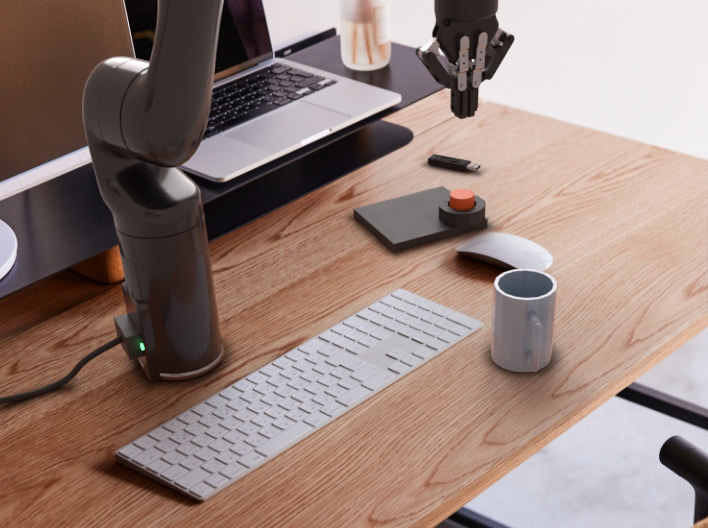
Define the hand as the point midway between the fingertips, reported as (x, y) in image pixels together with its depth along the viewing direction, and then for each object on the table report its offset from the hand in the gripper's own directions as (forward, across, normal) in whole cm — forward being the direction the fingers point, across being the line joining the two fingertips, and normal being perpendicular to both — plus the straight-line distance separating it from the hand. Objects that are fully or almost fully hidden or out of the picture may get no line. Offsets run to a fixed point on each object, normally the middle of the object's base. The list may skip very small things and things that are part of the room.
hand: (463, 115), depth 134 cm
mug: (+15, +11, +32) cm, 37 cm away
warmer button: (+12, 0, 0) cm, 12 cm away
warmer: (+15, +4, -4) cm, 16 cm away
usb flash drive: (+15, -8, -16) cm, 24 cm away
